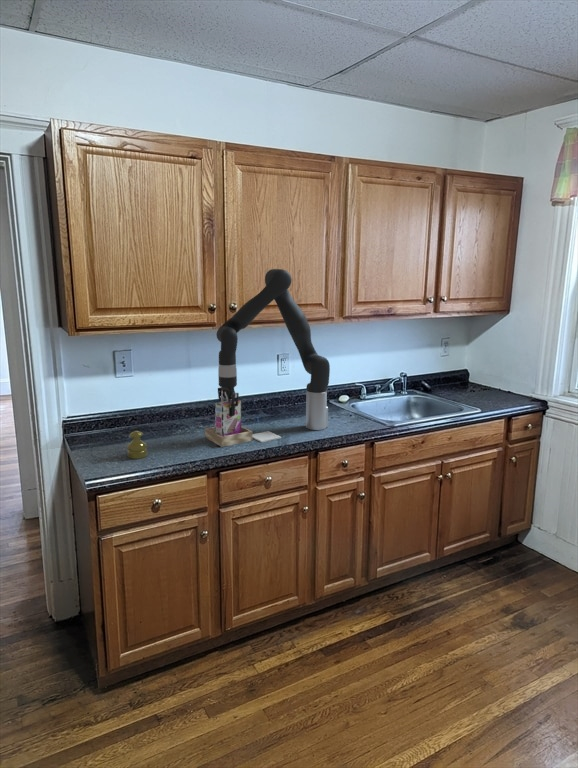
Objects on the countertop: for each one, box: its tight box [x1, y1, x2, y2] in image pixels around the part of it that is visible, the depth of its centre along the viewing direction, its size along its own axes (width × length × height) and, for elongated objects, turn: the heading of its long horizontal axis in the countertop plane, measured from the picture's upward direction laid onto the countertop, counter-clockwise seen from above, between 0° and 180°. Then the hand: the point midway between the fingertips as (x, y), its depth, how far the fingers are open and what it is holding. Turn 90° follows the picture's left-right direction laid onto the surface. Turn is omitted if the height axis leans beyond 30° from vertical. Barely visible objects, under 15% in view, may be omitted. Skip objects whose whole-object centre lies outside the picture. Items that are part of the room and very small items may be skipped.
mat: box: [252, 430, 282, 443], centre depth 227 cm, size 10×10×1 cm
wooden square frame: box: [204, 425, 253, 448], centre depth 224 cm, size 15×15×4 cm
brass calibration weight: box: [126, 430, 148, 460], centre depth 203 cm, size 7×7×10 cm
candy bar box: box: [214, 399, 242, 437], centre depth 222 cm, size 11×5×16 cm, turn 141°
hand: (228, 413), depth 222 cm, fingers closed on candy bar box, 5 cm apart
